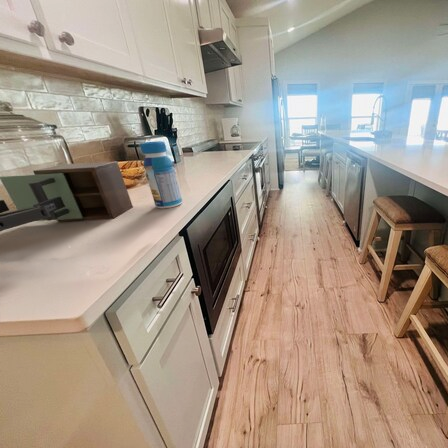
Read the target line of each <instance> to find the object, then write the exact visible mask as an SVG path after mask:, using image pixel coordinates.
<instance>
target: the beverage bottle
mask: <svg viewBox="0 0 448 448" xmlns="http://www.w3.org/2000/svg"><path fill="white" fill-rule="evenodd" d="M139 147H140V151H141V154H142V155H143V156H145V157H144V159H143V165H142V167H143V169H144V170H145V174H144V175H145V178H146V179H147V183H148V187H149V189H150V193H151V195H152V199H153V202H154V206H155V207H156V208H157V209H170V208H175V207H178V206H180V205H181V204H182V203H183V198H182V196H181V190H180V187H179V183H178V179H177V172H176V170H175V169H174V167H173V166H174V162H173V160H172V159H171V158H170V157H169V156H168V155H167V154H166V153H168V151H167V150H168V149H167V145H166V143H165V141H161V140H158V141H157V140H156V141H147V142H140V143H139Z"/></svg>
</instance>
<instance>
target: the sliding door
mask: <svg viewBox="0 0 448 448" xmlns="http://www.w3.org/2000/svg"><path fill="white" fill-rule="evenodd" d="M0 181H1V183H2V185H3V187H4V189H5V190H6V192H7V194H8V195H9V197H10V199H11V201H12V203H13V204H14V206H15V209H16V210H20V209H24V208H29V207H34V206H33V205H35V204H38V203H41V202H44V201H47V200H49V199H52V198H55V197H61V198H62V201H63V203H64V205H65V207H63V208H61V209H58V210H56V211H54V212H51V213H49V214H50V217H49V218H47V219H45V220H43V219H41V220H37V221H36V222H44V221H45V222H46V221H48V222H49V221H50V222H51V221H57V220H63V219H79V218H83V217H82V214H81V212H80V210H79V208H78V205H77V203H76V201H75V199H74V196H73V194H72V192H71V190H70V187H69V185H68V183H67V181H66V178H65V176H64V174H63V173H57V174H39V175H35V174H25V175H24V174H22V175H5V176H3V175H2V176H0Z"/></svg>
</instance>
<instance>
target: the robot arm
mask: <svg viewBox="0 0 448 448" xmlns="http://www.w3.org/2000/svg"><path fill="white" fill-rule="evenodd" d="M33 206H34V207H29V208H24V209H20V210H17V209H16V210H11V211H10V208H9V207H8V205H7V203H6V201H5V199H0V232H3V231H6V230H9V229H13V228H17V227H20V226H23V225H27V224H29V223H33V222H34V223H35V222H38V221H37V220H41V219H43V220H45V219H47V218H49V217H50V214H49V213H51V212H54V211H56V210H58V209H61V208H63V207H65V205H64V203H63V201H62V198H61V197H55V198H52V199H49V200H47V201H44V202H41V203H38V204H35V205H33Z"/></svg>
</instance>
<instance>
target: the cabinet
mask: <svg viewBox="0 0 448 448" xmlns="http://www.w3.org/2000/svg"><path fill="white" fill-rule="evenodd" d="M32 172H33V175H39V174H57V173H63V174H64V176H65V178H66V181H67V183H68V185H69V187H70V190H71V192H72V194H73V196H74V199H75V201H76V203H77V205H78V208H79V210H80V212H81V214H82V217H83V218H79V219H63V220H56V221H57V222H58V223H65V222H77V221H78V222H79V221H94V220H110V219H111V220H112V219H115V218H118V217H119V216H120V215H122V214H124V213H125V212H128V211H130V209H132V208H134V205H133V203H132V199H131V198H130V197H131V196H130V194H129V192H128V191H129V190H128V189H127V185H126V182H125V180H124V177H123V174H122V171H121V168H120V165H119V163H118V161H99V162H81V163H64V164H60V165H53V166H49V167H44V168H39V169H34V170H32Z"/></svg>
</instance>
